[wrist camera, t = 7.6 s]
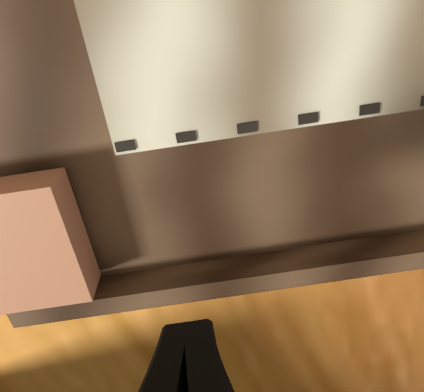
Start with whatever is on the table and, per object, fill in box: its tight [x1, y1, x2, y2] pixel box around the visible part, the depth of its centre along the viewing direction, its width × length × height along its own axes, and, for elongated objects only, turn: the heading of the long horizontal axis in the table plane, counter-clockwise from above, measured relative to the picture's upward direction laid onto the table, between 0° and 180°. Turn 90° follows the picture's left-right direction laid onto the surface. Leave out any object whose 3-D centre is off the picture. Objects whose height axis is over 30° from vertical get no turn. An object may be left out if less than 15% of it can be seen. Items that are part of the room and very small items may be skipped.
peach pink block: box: [0, 167, 101, 315], centre depth 18 cm, size 6×6×2 cm
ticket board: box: [0, 0, 424, 328], centre depth 17 cm, size 22×15×3 cm
